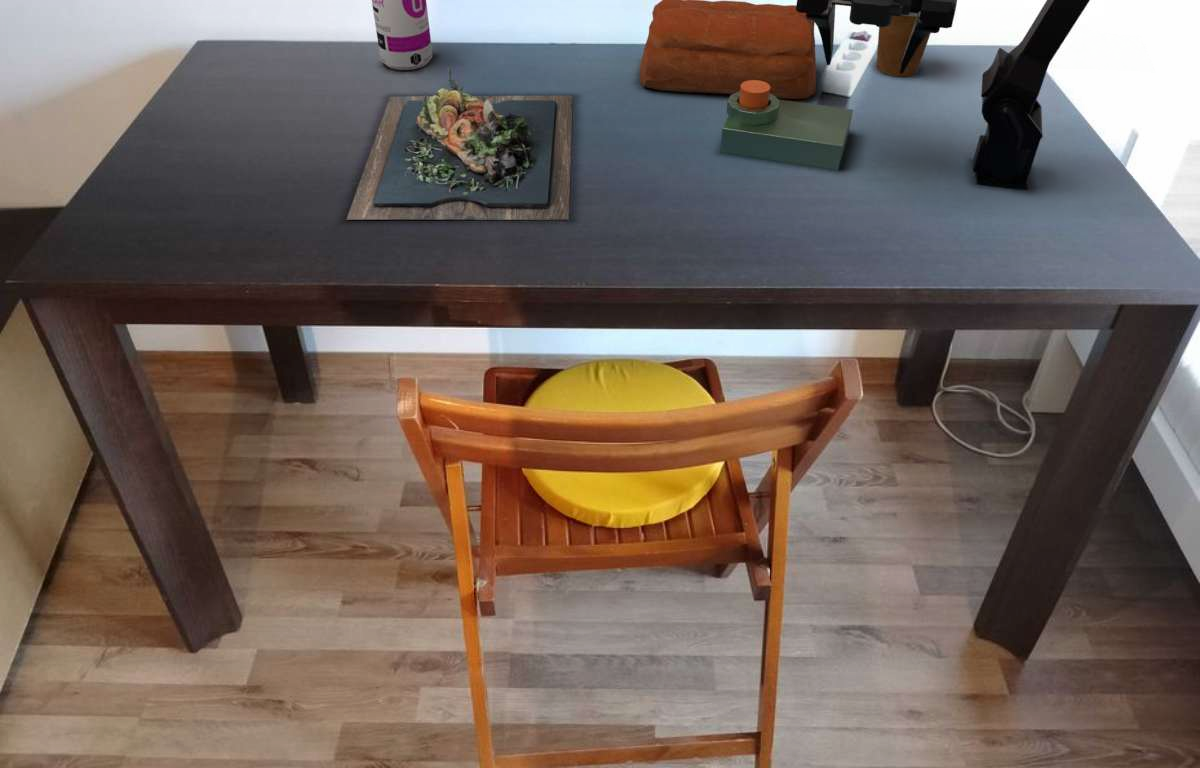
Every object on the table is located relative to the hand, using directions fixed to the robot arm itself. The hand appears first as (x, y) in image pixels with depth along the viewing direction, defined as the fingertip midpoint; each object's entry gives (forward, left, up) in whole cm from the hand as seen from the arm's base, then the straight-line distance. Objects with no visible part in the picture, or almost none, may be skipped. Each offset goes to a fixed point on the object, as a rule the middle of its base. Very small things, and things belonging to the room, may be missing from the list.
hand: (864, 68), depth 126 cm
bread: (+20, -20, -12) cm, 31 cm away
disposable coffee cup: (-6, -30, -12) cm, 33 cm away
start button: (+14, -1, -7) cm, 15 cm away
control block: (+9, -1, -12) cm, 15 cm away
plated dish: (+50, +12, -12) cm, 53 cm away
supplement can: (+70, -14, -12) cm, 73 cm away
